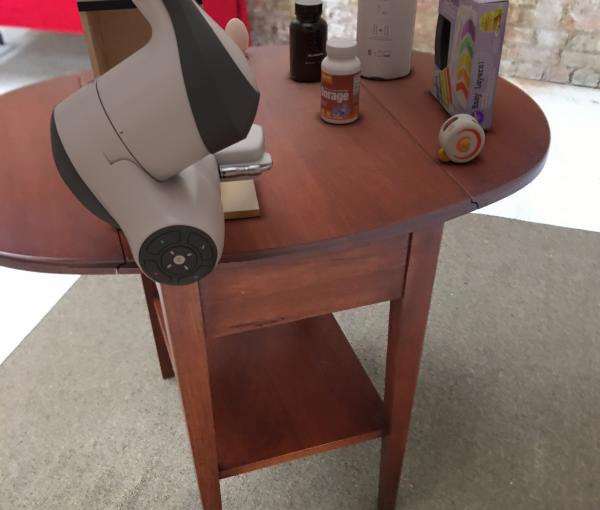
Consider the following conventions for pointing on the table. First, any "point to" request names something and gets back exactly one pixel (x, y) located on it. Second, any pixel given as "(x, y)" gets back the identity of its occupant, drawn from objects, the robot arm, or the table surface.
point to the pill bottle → (340, 81)
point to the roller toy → (460, 139)
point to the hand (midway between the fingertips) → (176, 127)
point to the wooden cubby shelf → (113, 31)
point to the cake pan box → (469, 56)
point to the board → (239, 199)
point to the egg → (238, 33)
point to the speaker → (385, 37)
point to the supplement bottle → (307, 40)
